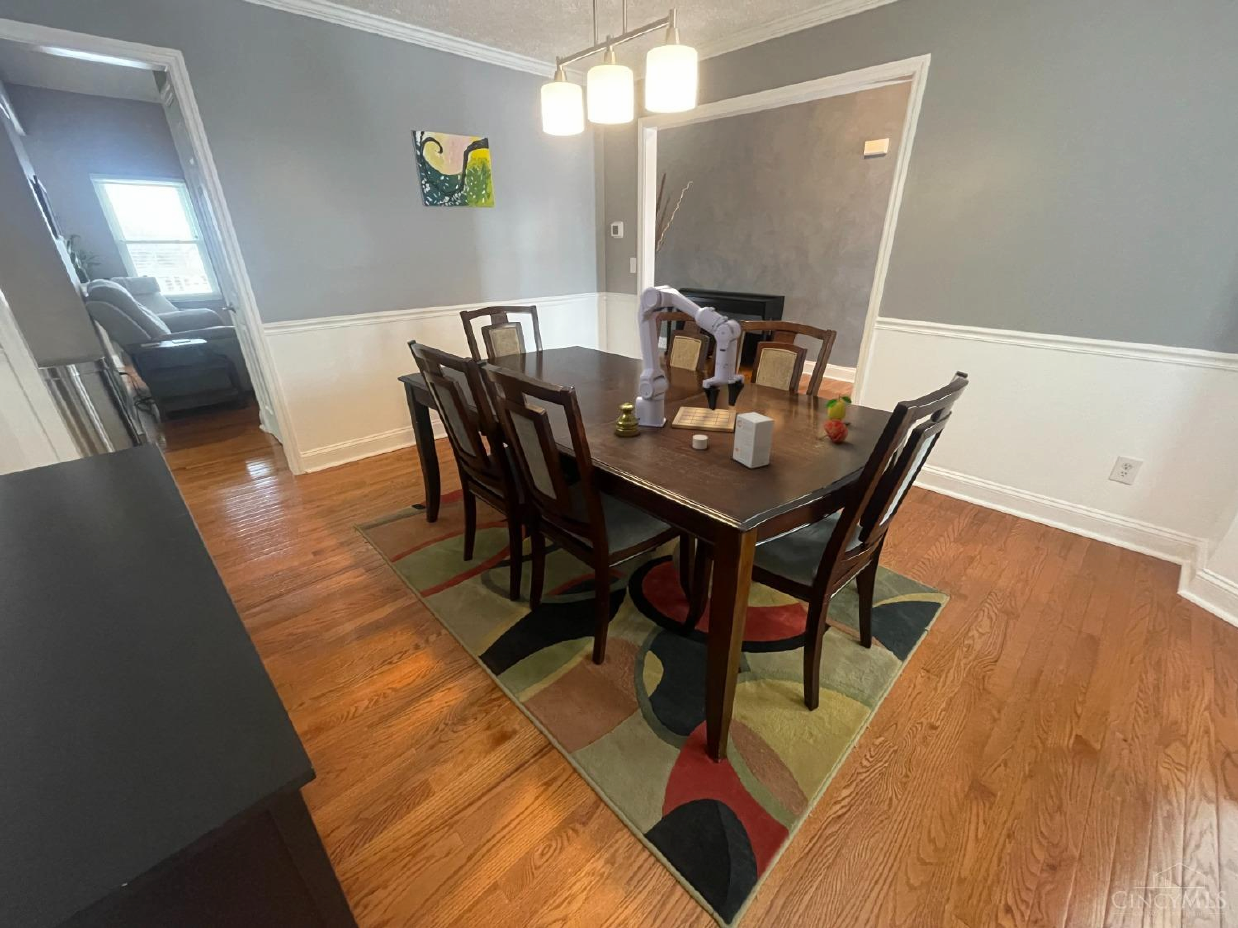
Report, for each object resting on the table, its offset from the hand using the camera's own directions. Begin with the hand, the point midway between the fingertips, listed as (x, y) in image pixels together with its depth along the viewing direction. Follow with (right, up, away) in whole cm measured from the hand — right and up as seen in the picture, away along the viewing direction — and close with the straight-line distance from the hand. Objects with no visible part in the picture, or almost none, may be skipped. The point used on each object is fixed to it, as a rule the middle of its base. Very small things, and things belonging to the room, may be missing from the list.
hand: (721, 407), depth 150 cm
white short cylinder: (-7, -12, -3) cm, 14 cm away
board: (-2, -2, +19) cm, 20 cm away
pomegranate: (+34, -11, 0) cm, 36 cm away
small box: (+5, -17, -14) cm, 22 cm away
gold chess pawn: (-29, -8, +8) cm, 31 cm away
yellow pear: (+42, -3, +16) cm, 45 cm away
